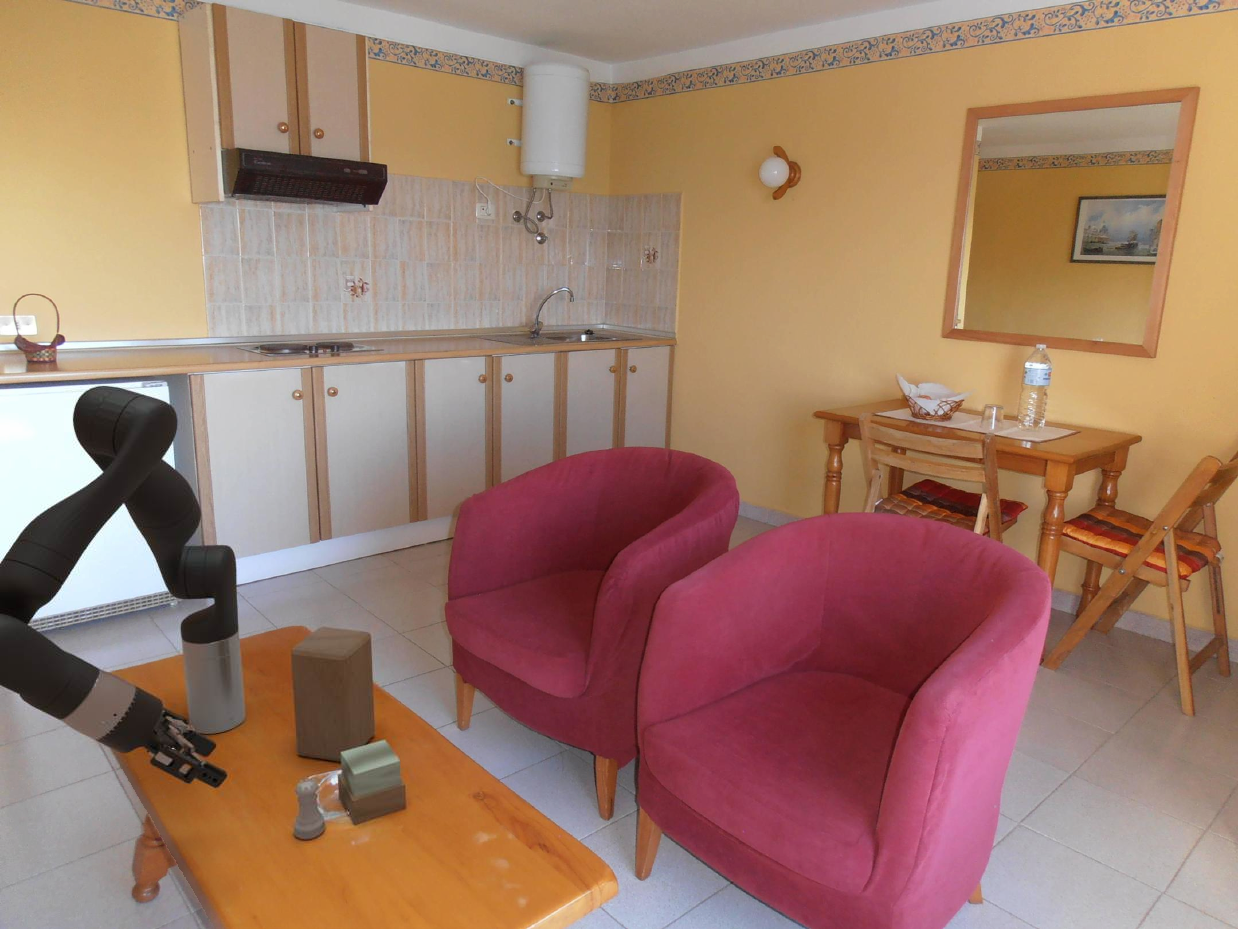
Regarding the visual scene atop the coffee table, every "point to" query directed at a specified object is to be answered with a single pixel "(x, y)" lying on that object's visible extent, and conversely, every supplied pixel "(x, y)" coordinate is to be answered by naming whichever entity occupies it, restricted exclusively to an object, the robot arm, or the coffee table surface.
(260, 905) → the coffee table surface
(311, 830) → the rook chess piece
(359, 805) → the tower base
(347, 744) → the block
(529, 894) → the coffee table surface
